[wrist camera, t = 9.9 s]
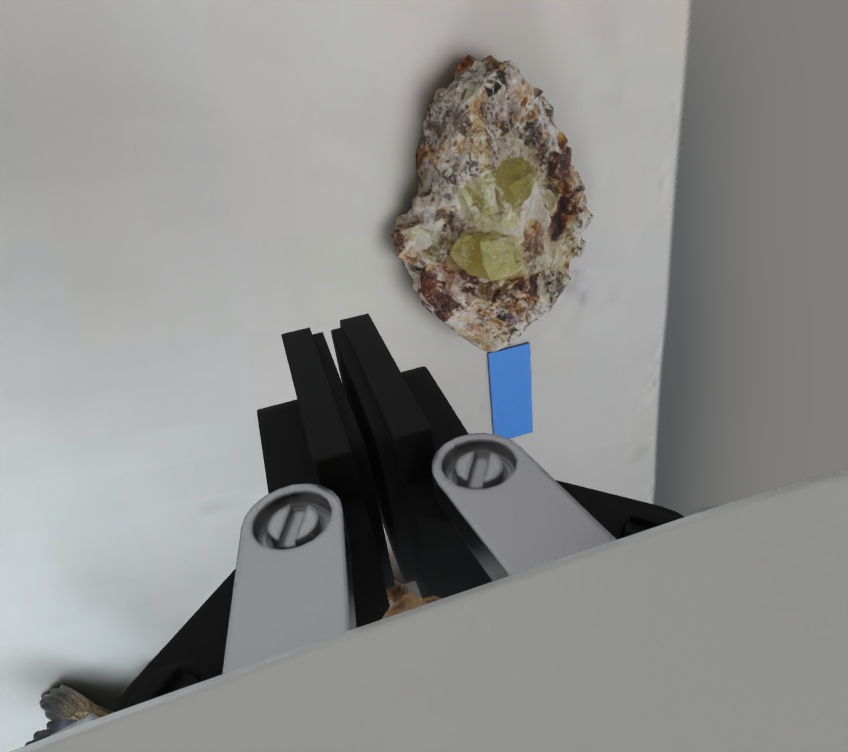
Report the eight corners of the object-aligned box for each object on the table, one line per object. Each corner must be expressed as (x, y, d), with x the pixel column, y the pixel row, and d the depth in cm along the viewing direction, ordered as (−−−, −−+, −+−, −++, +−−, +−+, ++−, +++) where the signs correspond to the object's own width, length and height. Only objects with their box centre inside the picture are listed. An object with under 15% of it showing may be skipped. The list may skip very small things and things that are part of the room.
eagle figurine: (244, 629, 30) (23, 682, 25) (269, 800, 27) (24, 892, 23) (219, 650, 36) (36, 696, 31) (237, 792, 33) (38, 864, 28)
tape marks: (445, -220, 18) (446, -221, 18) (509, -224, 18) (511, -225, 18) (494, 441, 30) (494, 442, 30) (531, 430, 31) (532, 431, 31)
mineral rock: (617, 321, 26) (461, 394, 23) (547, 294, 29) (402, 354, 26) (622, 29, 21) (419, 71, 17) (535, 38, 24) (351, 74, 21)
